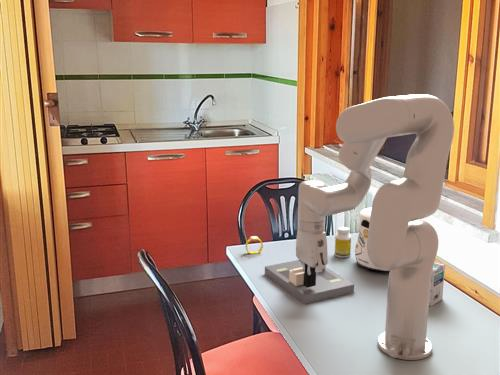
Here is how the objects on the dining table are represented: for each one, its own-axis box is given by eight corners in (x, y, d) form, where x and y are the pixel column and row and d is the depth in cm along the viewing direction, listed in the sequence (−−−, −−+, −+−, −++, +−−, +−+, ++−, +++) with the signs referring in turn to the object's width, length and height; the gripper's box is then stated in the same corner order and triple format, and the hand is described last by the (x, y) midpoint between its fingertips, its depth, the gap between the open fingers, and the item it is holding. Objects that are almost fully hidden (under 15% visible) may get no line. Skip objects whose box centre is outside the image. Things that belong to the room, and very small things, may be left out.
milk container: (343, 261, 189) (346, 210, 184) (383, 252, 196) (386, 203, 192) (377, 279, 174) (380, 224, 169) (419, 269, 182) (423, 216, 177)
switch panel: (354, 292, 165) (354, 284, 164) (304, 303, 158) (305, 295, 157) (309, 264, 186) (310, 257, 185) (264, 273, 178) (264, 266, 178)
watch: (261, 251, 198) (262, 235, 197) (262, 254, 196) (264, 238, 194) (244, 252, 197) (245, 236, 196) (246, 254, 194) (247, 238, 193)
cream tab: (310, 282, 165) (311, 269, 164) (296, 286, 163) (296, 272, 162) (303, 278, 169) (303, 264, 168) (289, 281, 166) (289, 267, 165)
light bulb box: (443, 299, 160) (446, 263, 158) (432, 307, 156) (435, 270, 153) (408, 288, 168) (411, 254, 165) (397, 295, 163) (400, 260, 160)
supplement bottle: (351, 258, 191) (352, 231, 189) (335, 258, 192) (336, 231, 189) (349, 252, 197) (350, 226, 194) (333, 252, 197) (334, 226, 194)
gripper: (338, 230, 152) (335, 293, 156) (308, 216, 164) (306, 274, 169) (314, 234, 148) (312, 298, 153) (286, 219, 161) (285, 278, 166)
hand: (309, 285), depth 161 cm, fingers closed
